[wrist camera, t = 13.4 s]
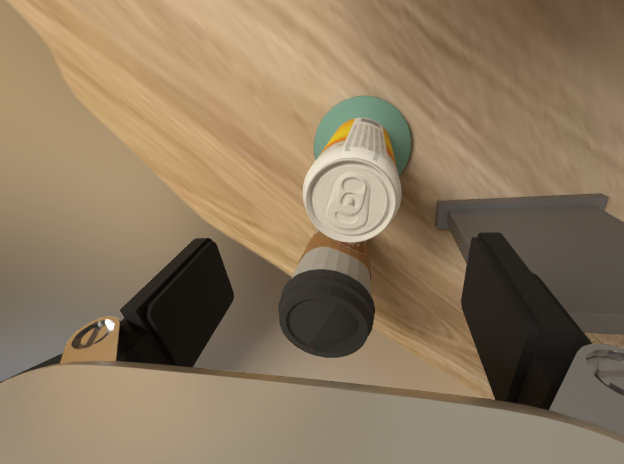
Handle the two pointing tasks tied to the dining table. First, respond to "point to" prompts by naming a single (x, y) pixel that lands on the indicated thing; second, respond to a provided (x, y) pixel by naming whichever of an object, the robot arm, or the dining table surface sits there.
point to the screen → (555, 248)
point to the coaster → (372, 110)
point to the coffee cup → (329, 298)
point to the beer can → (354, 183)
